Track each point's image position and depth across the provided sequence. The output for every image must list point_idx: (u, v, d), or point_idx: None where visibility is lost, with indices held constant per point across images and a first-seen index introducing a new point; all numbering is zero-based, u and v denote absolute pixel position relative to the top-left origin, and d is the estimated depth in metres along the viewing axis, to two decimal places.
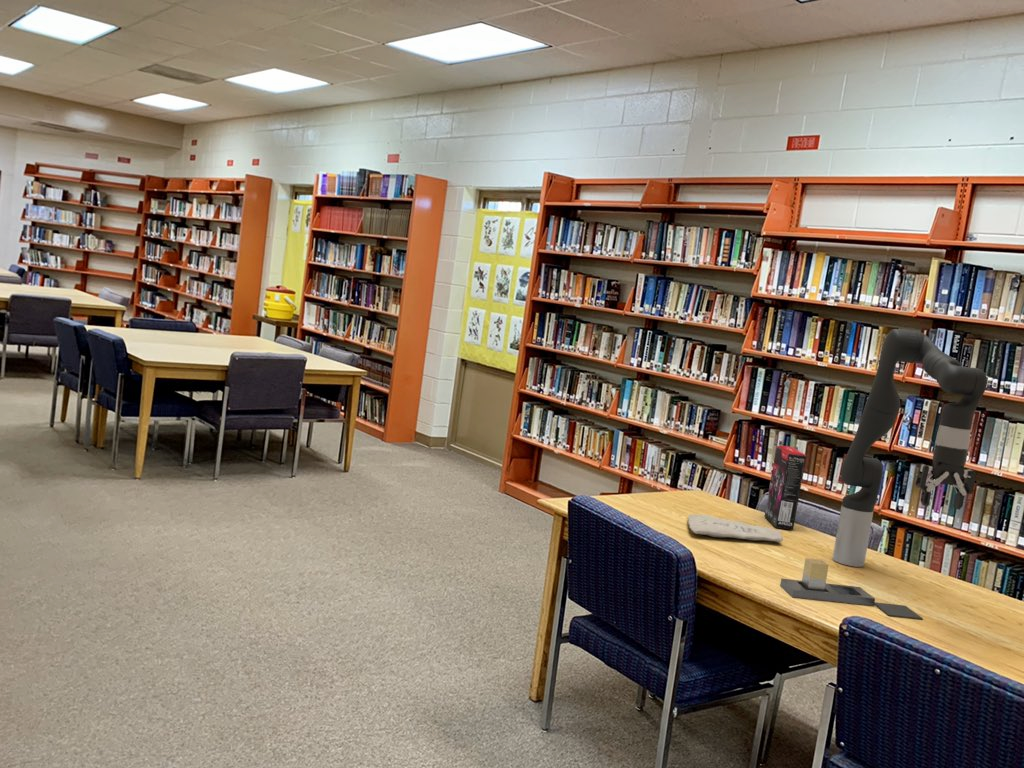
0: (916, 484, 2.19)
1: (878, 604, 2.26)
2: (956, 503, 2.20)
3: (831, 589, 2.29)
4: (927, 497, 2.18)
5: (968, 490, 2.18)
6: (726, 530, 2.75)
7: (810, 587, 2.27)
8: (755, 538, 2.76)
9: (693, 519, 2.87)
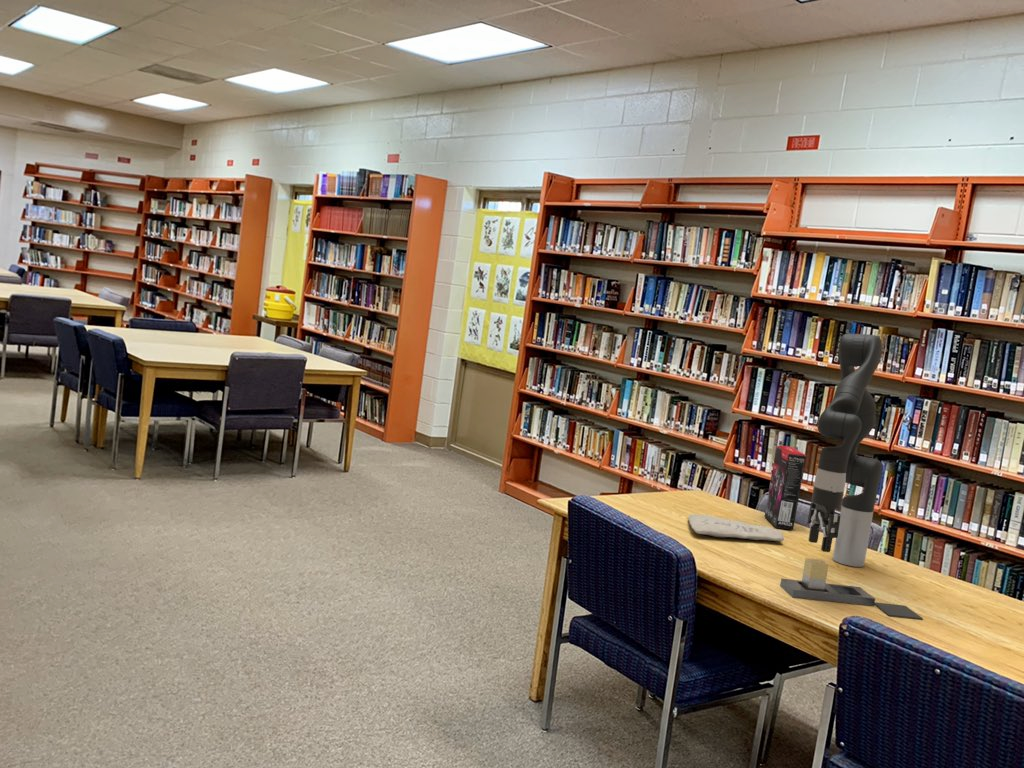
0: (830, 535, 2.21)
1: (878, 604, 2.26)
2: (813, 537, 2.32)
3: (831, 589, 2.29)
4: (830, 543, 2.23)
5: None
6: (728, 529, 2.75)
7: (810, 587, 2.27)
8: (757, 538, 2.77)
9: (694, 519, 2.87)
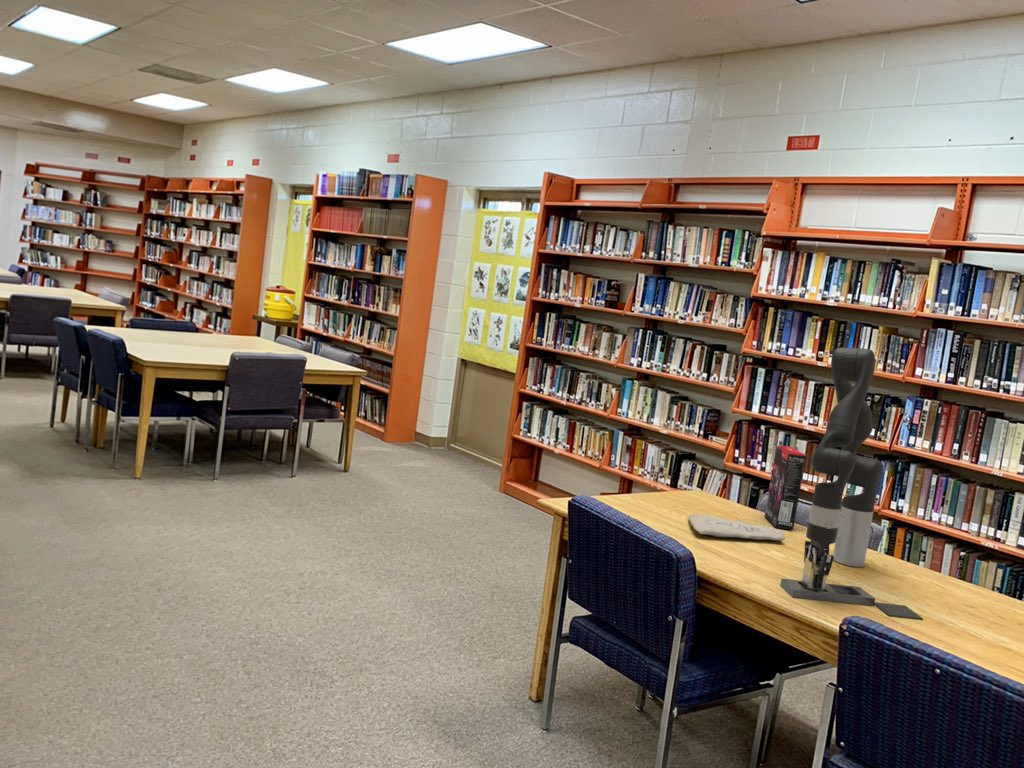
0: (821, 573, 2.23)
1: (878, 604, 2.26)
2: None
3: (831, 589, 2.29)
4: None
5: None
6: (730, 529, 2.75)
7: (810, 587, 2.27)
8: (758, 537, 2.77)
9: (695, 519, 2.87)
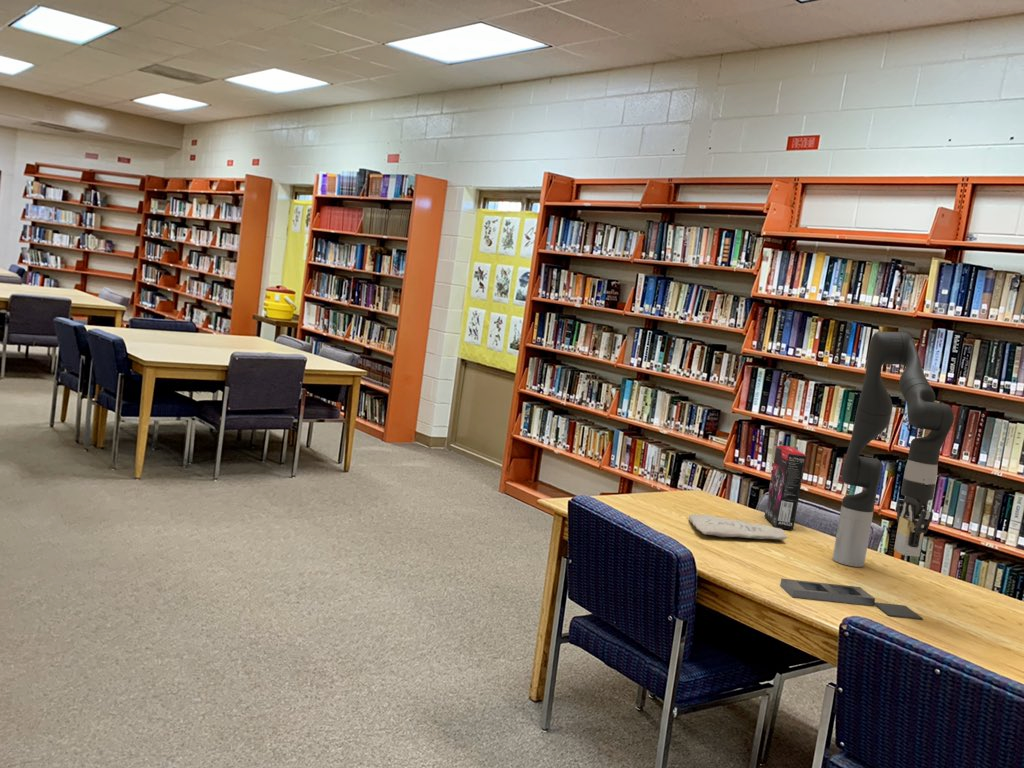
0: (919, 530, 2.16)
1: (878, 604, 2.26)
2: None
3: (831, 589, 2.29)
4: None
5: None
6: (733, 529, 2.76)
7: (906, 545, 2.20)
8: (760, 537, 2.78)
9: (697, 519, 2.88)
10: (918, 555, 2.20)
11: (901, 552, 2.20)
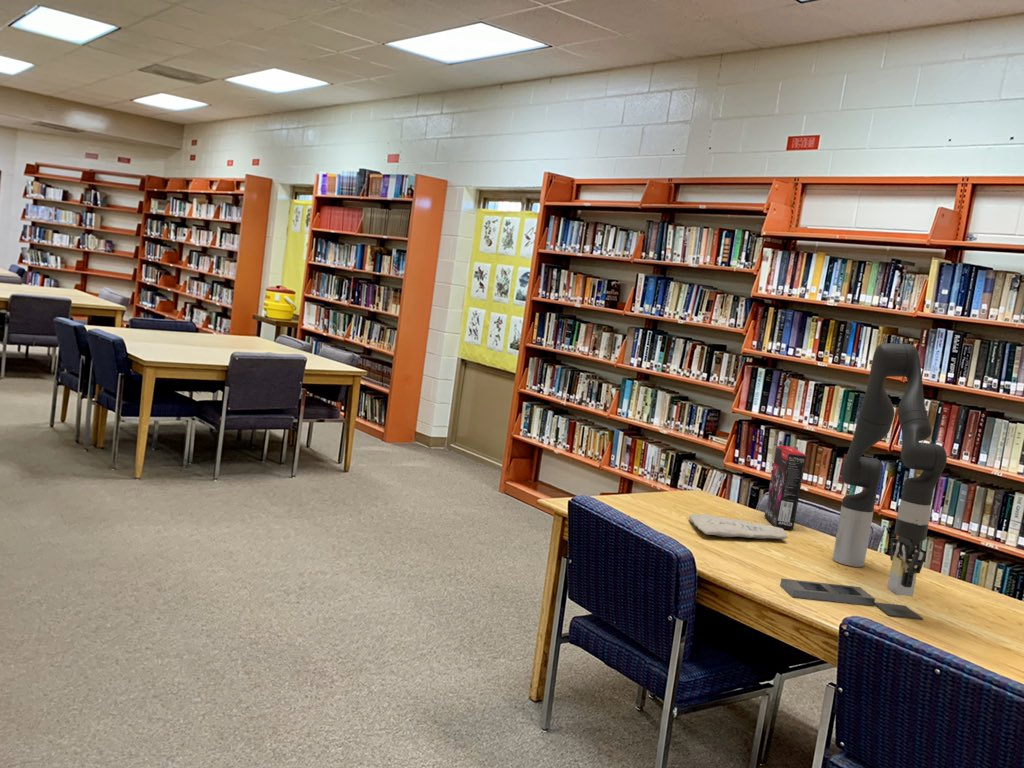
0: (912, 570, 2.17)
1: (878, 604, 2.26)
2: None
3: (831, 589, 2.29)
4: None
5: None
6: (735, 529, 2.76)
7: (899, 585, 2.20)
8: (762, 536, 2.79)
9: (697, 519, 2.88)
10: (911, 595, 2.21)
11: (894, 592, 2.21)
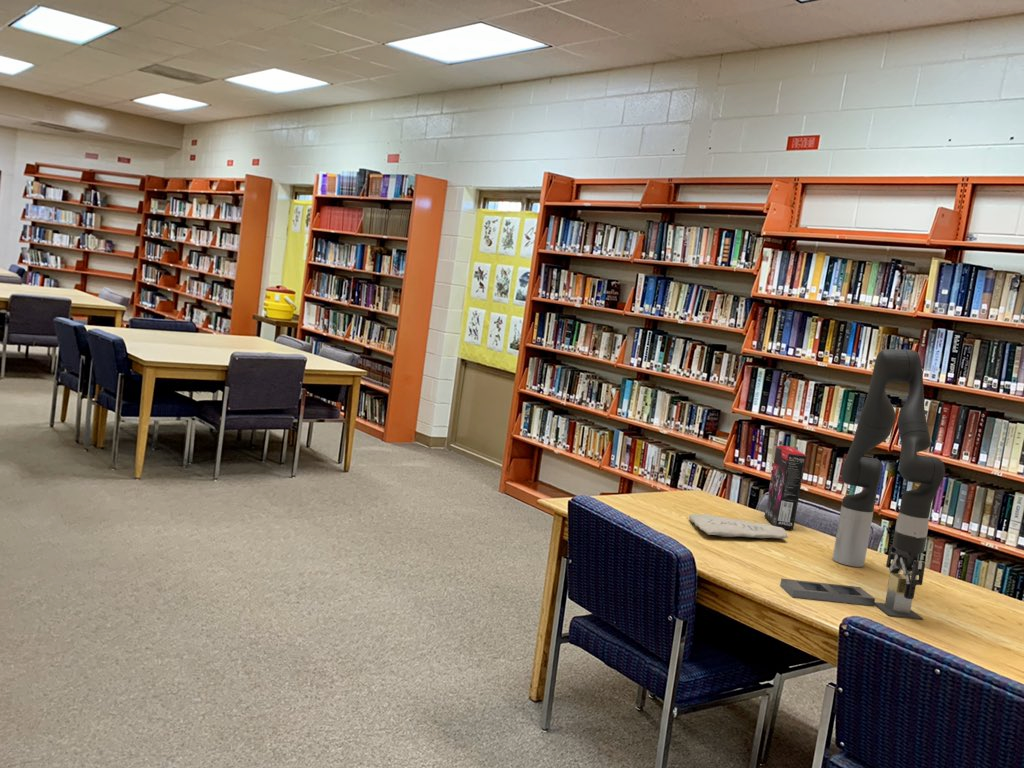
0: (914, 582, 2.16)
1: (878, 604, 2.26)
2: None
3: (831, 589, 2.29)
4: None
5: None
6: (737, 529, 2.77)
7: (896, 602, 2.21)
8: (763, 536, 2.80)
9: (698, 519, 2.88)
10: (908, 612, 2.21)
11: (891, 609, 2.22)
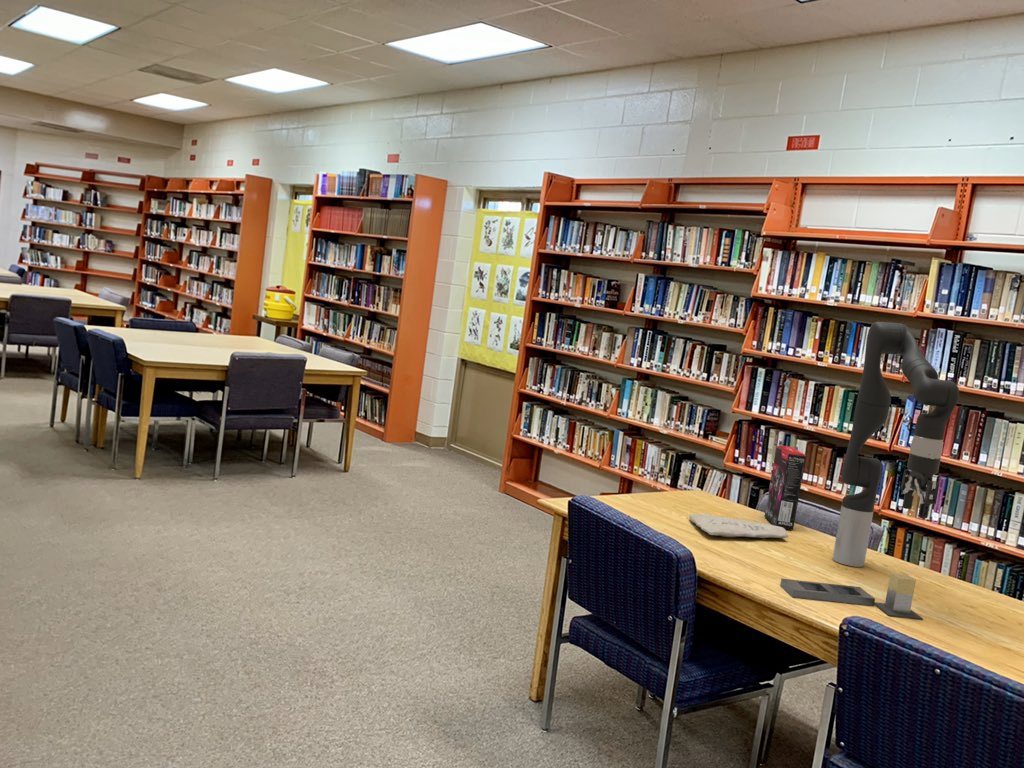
0: (928, 501, 2.22)
1: (878, 604, 2.26)
2: (907, 503, 2.33)
3: (831, 589, 2.29)
4: None
5: None
6: (738, 529, 2.77)
7: (896, 602, 2.21)
8: (764, 536, 2.80)
9: (699, 519, 2.88)
10: (908, 612, 2.21)
11: (891, 609, 2.22)
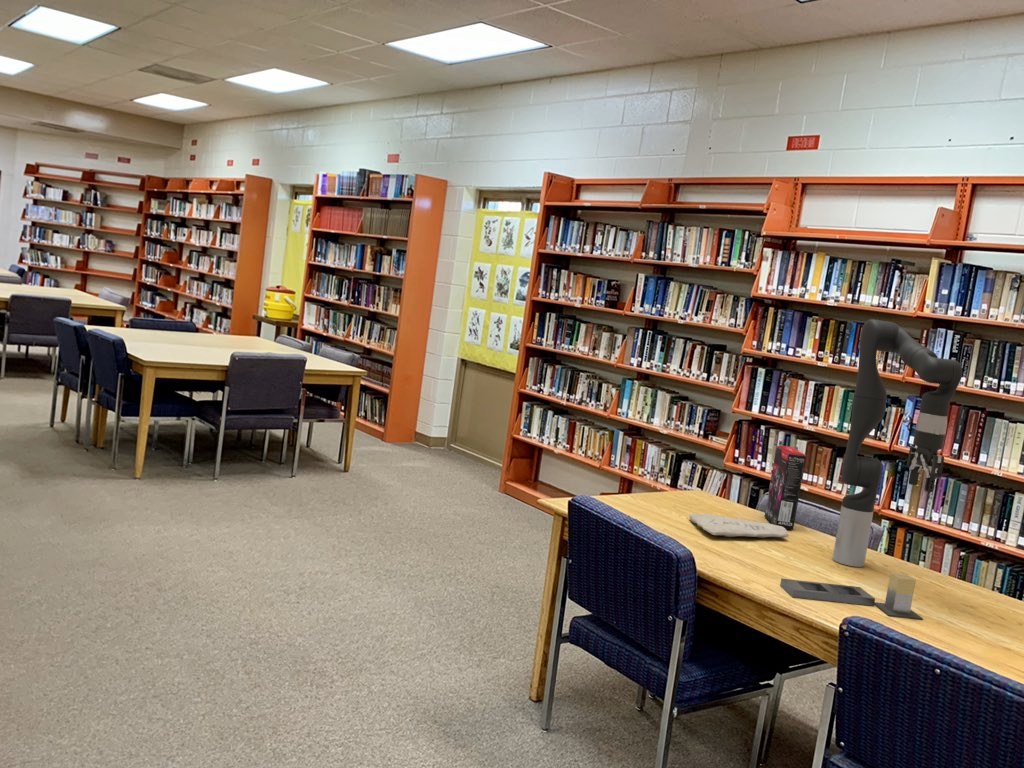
0: (934, 475, 2.31)
1: (878, 604, 2.26)
2: (913, 479, 2.42)
3: (831, 589, 2.29)
4: (933, 483, 2.33)
5: (916, 465, 2.43)
6: (740, 529, 2.78)
7: (896, 602, 2.21)
8: (765, 535, 2.81)
9: (700, 519, 2.88)
10: (908, 612, 2.21)
11: (891, 609, 2.22)
